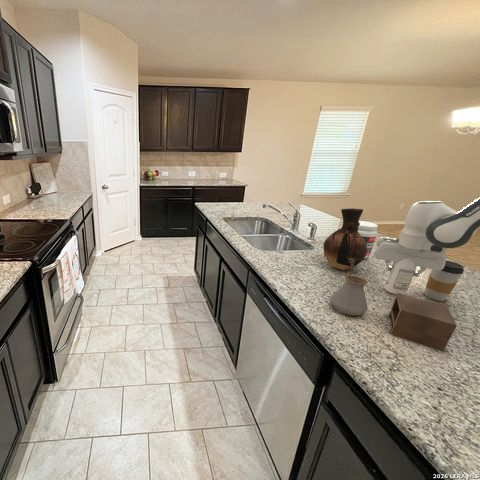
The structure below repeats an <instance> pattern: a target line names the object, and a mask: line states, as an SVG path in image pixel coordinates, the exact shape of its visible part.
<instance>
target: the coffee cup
mask: <svg viewBox="0 0 480 480" xmlns="http://www.w3.org/2000/svg"><path fill="white" fill-rule="evenodd" d="M464 268H465V267H464V265H463V264H461V263H458V262H455V261H452V260H448V259H446V263H445V266H444V268H443V269H442V270H433V269H430V273H429V275H428V278H427V281H426V285H425V288H424V291H423V293H424V296H425V297H427V298H429V299H431V300H434V301H439V302H443V301H446V300H447V299H448V297H449V295H451V293H452V291H453V290H454V289H455V287H456V285H457V283H458V282H459V280H460V278H461V276H462V275H463V274H464V272H465V269H464Z"/></svg>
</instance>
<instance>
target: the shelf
mask: <svg viewBox="0 0 480 480" xmlns="http://www.w3.org/2000/svg"><path fill="white" fill-rule="evenodd" d="M387 316H388V318H390V319H392V320H391V321H392V325H393V326H392V329H391V330H390V334H391V335H392V336H395V337H396V336H397V337H399V338H402V339H405V340H409V341H411V342H414V343H417V344H420V345H423V346H427V347H430V348H432V349H436V350H439V351H441V352H444V351H445V350H446V347H447V345H448V343H449V342H450V340H451V337H452V336H453V334H454V332H455V331H456V328H457V326H458V324H457V323H456V321H455V319H454V317H453V315H452V313H451V311H450V309H449V307H448V305H446V304H442V303H439V302H436V301H432V300H431V301H430V300H427V299H423V298H419V297H415V296H411V295H408V294H407V295H406V294H405V295H403V294H400V293H397V295H396V294H395V298H394V300H393V303H392V304H391V308H390V310H389V313H388V315H387Z"/></svg>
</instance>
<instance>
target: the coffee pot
mask: <svg viewBox="0 0 480 480" xmlns="http://www.w3.org/2000/svg"><path fill="white" fill-rule="evenodd" d="M349 260H351V262H350V261H349ZM349 260H348V261H349V262H350V263H351V266H350V269H349V270H350V274H348V275H345V277H344V279H345V283H343V284H342V285H341V286H340V287H339V288H337V290H336V291H335V292H334V293H333V294H332V295H331V296H330V298H329V300H330V303H331V305H332V306H333V307H334V308H335V310H337V311H338V312H340V313H341V314H344V315H346V316H350V317H351V316H352V317H354V316H355V317H356V316H360V315H363V314H365V313H366V312H367V311H368V310H369V307H368V302H367V298H366V293H365V289H364V287H365V286H367V285H368V283H369V281H367V280H366V279H365V278H363V277H361V276H357V275H355V267H354V262H353V261H354V259H349Z"/></svg>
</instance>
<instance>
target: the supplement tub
mask: <svg viewBox="0 0 480 480" xmlns="http://www.w3.org/2000/svg"><path fill="white" fill-rule="evenodd" d="M359 223H360V225H359V226H358V232H359V233H360V235H361V236H362V237H363V239H364V240H365V243H366V245H367V253H366V256H365V258H364V259H363V260H365V259H369V258H370V257H371V253H372V250H373V247H374V245H375V241H376V239H377V236H378V231H377V230H378V227H379V225H378V224H376V223H373V222H370V221H364V220H359Z"/></svg>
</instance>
